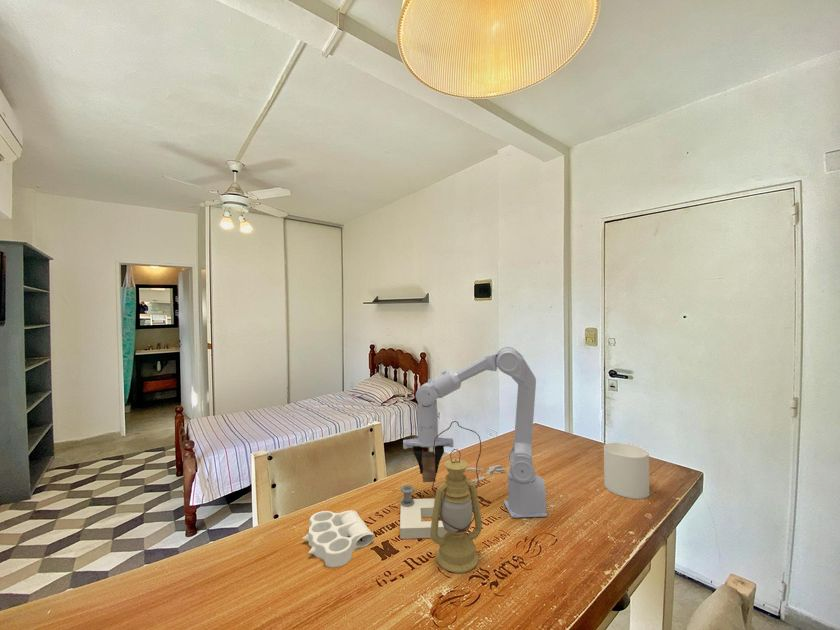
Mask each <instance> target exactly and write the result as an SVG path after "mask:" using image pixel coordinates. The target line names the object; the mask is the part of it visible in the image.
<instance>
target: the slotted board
mask: <svg viewBox="0 0 840 630" xmlns="http://www.w3.org/2000/svg"><path fill="white" fill-rule="evenodd" d="M414 490H415V487H414V486H413V485H409V484H406V485H403V486H401V487H400V492H401V493H403V499H400V512H399V513H400V521H399V540H400V539H401V540H406V539H408V540H409V539H411V540H412V539H432V538H431V522H432V520H428V521H422V518H432V514H433V508H434V501H435V497H434V498H433V497H431V498H412V493H413V492H414ZM439 518H441V516H440V515H439ZM446 533H447V531H446V530H445V528H444V526H443V523H442V521H441V520H439V523H438V536H439V537H443V536H444V535H445V534H446Z"/></svg>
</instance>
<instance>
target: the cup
mask: <svg viewBox="0 0 840 630" xmlns="http://www.w3.org/2000/svg"><path fill="white" fill-rule="evenodd" d="M603 474H604V475H603V483H604V484H603V485H604V487H605V489H606V490H608V491H609V492H610V493H612V494H614V495H617V496H619V497H623V498H627V499H632V500H642V499H646V498H648V497H649V496H650V454H649V451H648V450H646V449H645V448H644V447H640V446H639V445H634V444H630V443H626V442H608V443H606V444H604V445H603Z"/></svg>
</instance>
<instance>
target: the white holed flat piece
mask: <svg viewBox="0 0 840 630" xmlns="http://www.w3.org/2000/svg"><path fill="white" fill-rule="evenodd" d="M308 523H309V525H308V533H307V534H306V535H304V536H303V537H302V538H301V540H305V541H307V542H308V546H309V547H311V548H310V550H309V551H308V552H307V554H309V555H310V554H312V555H313V556H315V557H316V558H318V559H321V560H323V561H324V563H325V566H326V567H328V568H340V567H342V566H344V565H346V564H347V563H349V562H350V560H351V559H352V558H353V557H352V556H353V552H354V551H355V550H358V549H359V548H364V547H366V546H369V545H370V544H372V542H374V540H375V536H374V532H372V531H371V530H370V529H369V527H368V526H367V525H366V522H365V521H364V520H363V519H362V518H361V517H360V516H359V514H358V512H357V511H356V510H352V509H350V510H344V511H342V512H333V511H330V510H322V511H318V512H315V513H314V514H312V515H311V516H310V518H309V520H308ZM360 539H361V540H362V541H361V540H360Z"/></svg>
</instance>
